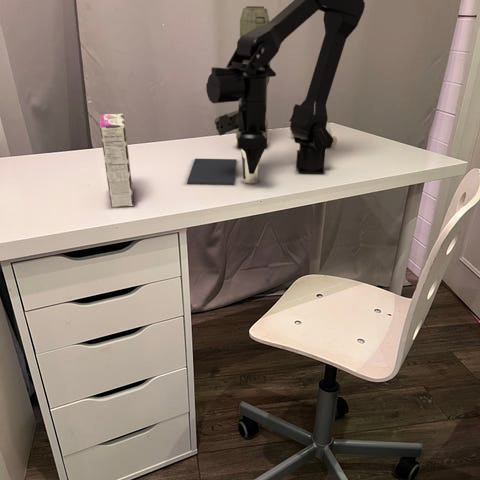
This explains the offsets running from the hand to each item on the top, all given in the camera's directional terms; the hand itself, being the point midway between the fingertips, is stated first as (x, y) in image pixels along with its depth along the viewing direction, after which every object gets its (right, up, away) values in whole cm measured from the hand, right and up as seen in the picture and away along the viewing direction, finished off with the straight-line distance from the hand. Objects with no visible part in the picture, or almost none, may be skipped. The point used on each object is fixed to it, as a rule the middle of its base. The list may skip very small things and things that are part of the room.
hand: (251, 170), depth 122 cm
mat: (-9, +2, +8) cm, 12 cm away
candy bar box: (-28, -9, -10) cm, 31 cm away
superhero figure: (+20, +18, +33) cm, 43 cm away
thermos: (+1, +15, +29) cm, 32 cm away
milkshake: (0, -2, +2) cm, 3 cm away
